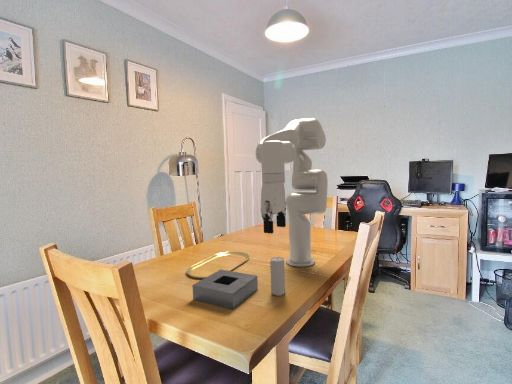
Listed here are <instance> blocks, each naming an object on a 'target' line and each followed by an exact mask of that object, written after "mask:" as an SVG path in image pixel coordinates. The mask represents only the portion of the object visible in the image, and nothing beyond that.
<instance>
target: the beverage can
mask: <svg viewBox="0 0 512 384" xmlns="http://www.w3.org/2000/svg"><path fill="white" fill-rule="evenodd" d="M269 264H270V265H269V266H270V290H271V293H272V295H274V296H278V297H279V296H283V295H284V294H285V293H286V272H285V271H286V270H285V268H286V267H285V258H284V257H280V256H274V257H271V258H270V262H269Z"/></svg>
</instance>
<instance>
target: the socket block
mask: <svg viewBox="0 0 512 384" xmlns="http://www.w3.org/2000/svg"><path fill="white" fill-rule="evenodd" d="M205 277H206V278H204V279H201V280H199V281H197V282H196V283H194V284H192V300H193V301H198V302H202V303H206V304H209V305H213V306H217V307H218V306H219V307H223V308H226V309H230V310H234V309H235V308H236V307H238V306H239V305H241V304H242V303H243V302H245V300H247V299H248V298H249V297H250V296H251V295H253V294H254V293H255V292H256V291H258V290H259V285H258V284H259V283H258V280H259V279H258V275H256V274H250V273H245V272H238V271H233V270H232V271H229V270H226V269H221V268H220V269H219V270H217V271H215V272H213V273H211V274H210V275H208V276H205Z"/></svg>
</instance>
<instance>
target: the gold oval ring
mask: <svg viewBox="0 0 512 384" xmlns="http://www.w3.org/2000/svg"><path fill="white" fill-rule="evenodd" d="M231 255H232V256H233V255H234V256H241V257H244V258H245V260H243V261H242V262H240V263H239V264H237V265H236V266H234V267H232V268H231V269H229V270H228V271H233V270H235V269H237V268H239V267H240V266H241V265H242V264H243V265H244V264H245V263H246V262H247V261H249V259H250V255H249V254H248V253H246V252H244V251H243V252H242V251H223V252H219V253H216V254H214V255H211V256H209V257H207V258H205V259H203V260H201V261H199V262H197V263H195V264H193V265H191V266H189V267H188V268H187V269H186V273H187V275H188V276H190V277H191V278H194V279H199V280H200V279H201V280H203V279H204V278H206V277H207V276H198V275H193V274H192V272H193V271H194V270H195V269H196V270H197V268H200V267H202V266H203V265H206V264H207V262H208V263H210V262H211V261H213V260H216V259H217V258H220V257H223V256H224V257H225V256H231ZM209 261H210V262H209ZM205 263H206V264H205Z"/></svg>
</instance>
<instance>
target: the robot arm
mask: <svg viewBox="0 0 512 384" xmlns="http://www.w3.org/2000/svg"><path fill="white" fill-rule="evenodd" d="M321 124H322V123H320V121H319V120H318V119H317V118H314V117H312V118H311V117H310V118H309V117H308V118H300V119H294V120H291V121H289V122H288V123H287V125H285V127H284V128H283V129H282V130H279V131H277V132H274V133H272V134H270V135H268V136H265V137H263V138H262V139H261V141H259V143H258V144H257V145H256V147H255V148H256V149H255V158H256V160H257V161H258V163H260V164H261V183H262V184H261V189H260V191H261V193H260V213H261V218H262V222H263V233H265V234H274V220H273V217H274V215H276V227H278V228H286V226H287V225H286V224H287V222H286V210H287V215H288V216H287V218H288V234H289V235H288V241H289V244H288V245H289V257H287V258H286V260H285V261H286V264H288V265H290V266H292V267H300V268H303V267H311V266H312V265H314V264H315V261H316V259H314V258H313V257H312V246H311V245H312V243H311V242H312V239H311V237H312V236H311V235H312V234H311V222H310V220H309V218H308V217H307V216H306V215H323V214H325V212H326V210H327V202H328V182H329V181H328V180H329V179H328V174H327V173H326V171H325V170H323V169H313V167H312V165H313V161H312V158H310V155H308V153H306V152H305V151H313V150H321V149H323V148H324V147H325V145H326V141H327V140H326V134H325V131H324V129H323V126H322V125H321ZM292 162H293V163H292ZM289 163H292V164H293V165H292V174H291V187H292V189H293V190H294V191H296V192H291V193H289V194H288V195H287V197H286V191H285V183H286V176H285V173H286V172H285V171H286V170H285V164H289Z"/></svg>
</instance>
